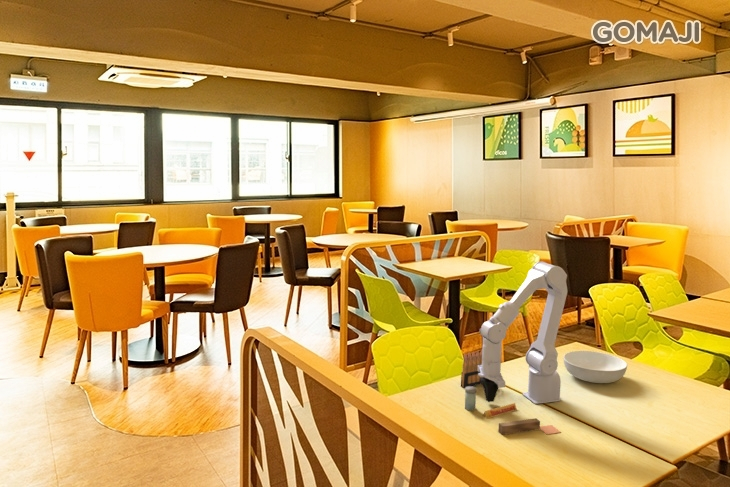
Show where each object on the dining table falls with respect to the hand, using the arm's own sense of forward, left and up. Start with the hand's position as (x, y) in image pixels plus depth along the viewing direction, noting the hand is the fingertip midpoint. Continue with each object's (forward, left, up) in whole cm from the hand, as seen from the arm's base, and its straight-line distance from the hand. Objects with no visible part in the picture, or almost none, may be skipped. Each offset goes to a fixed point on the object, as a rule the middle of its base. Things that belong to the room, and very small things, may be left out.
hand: (490, 400), depth 179 cm
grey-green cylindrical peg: (+8, +1, -1) cm, 8 cm away
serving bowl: (-45, -10, -1) cm, 47 cm away
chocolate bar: (0, +6, -2) cm, 7 cm away
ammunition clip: (-2, -16, -1) cm, 16 cm away
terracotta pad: (-8, +20, -1) cm, 22 cm away
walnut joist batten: (+1, +18, -1) cm, 18 cm away
